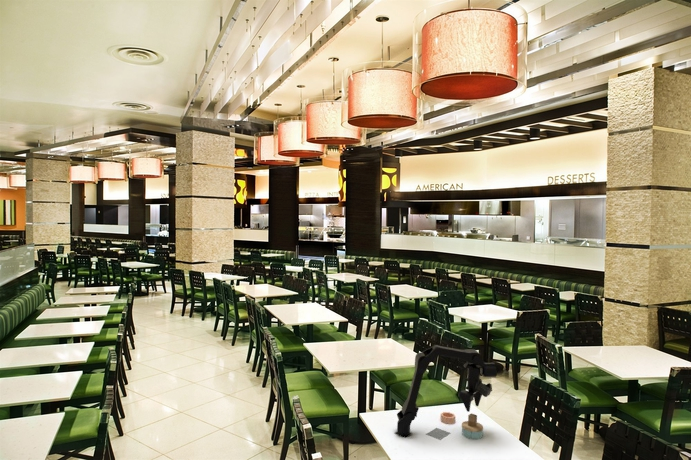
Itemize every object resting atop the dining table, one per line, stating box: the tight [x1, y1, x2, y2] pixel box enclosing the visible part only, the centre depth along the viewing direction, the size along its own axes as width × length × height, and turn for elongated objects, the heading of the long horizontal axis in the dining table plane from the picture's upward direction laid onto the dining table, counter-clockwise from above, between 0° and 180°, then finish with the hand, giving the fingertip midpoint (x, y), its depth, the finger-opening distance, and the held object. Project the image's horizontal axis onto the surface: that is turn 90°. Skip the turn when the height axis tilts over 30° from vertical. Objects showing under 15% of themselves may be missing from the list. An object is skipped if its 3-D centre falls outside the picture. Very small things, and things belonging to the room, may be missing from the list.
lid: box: [461, 413, 484, 432], centre depth 222 cm, size 10×10×6 cm
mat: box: [425, 427, 452, 441], centre depth 223 cm, size 10×8×1 cm
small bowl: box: [439, 411, 456, 425], centre depth 237 cm, size 7×7×4 cm
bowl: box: [461, 427, 484, 440], centre depth 223 cm, size 9×9×4 cm
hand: (472, 408), depth 222 cm, fingers open, 9 cm apart
